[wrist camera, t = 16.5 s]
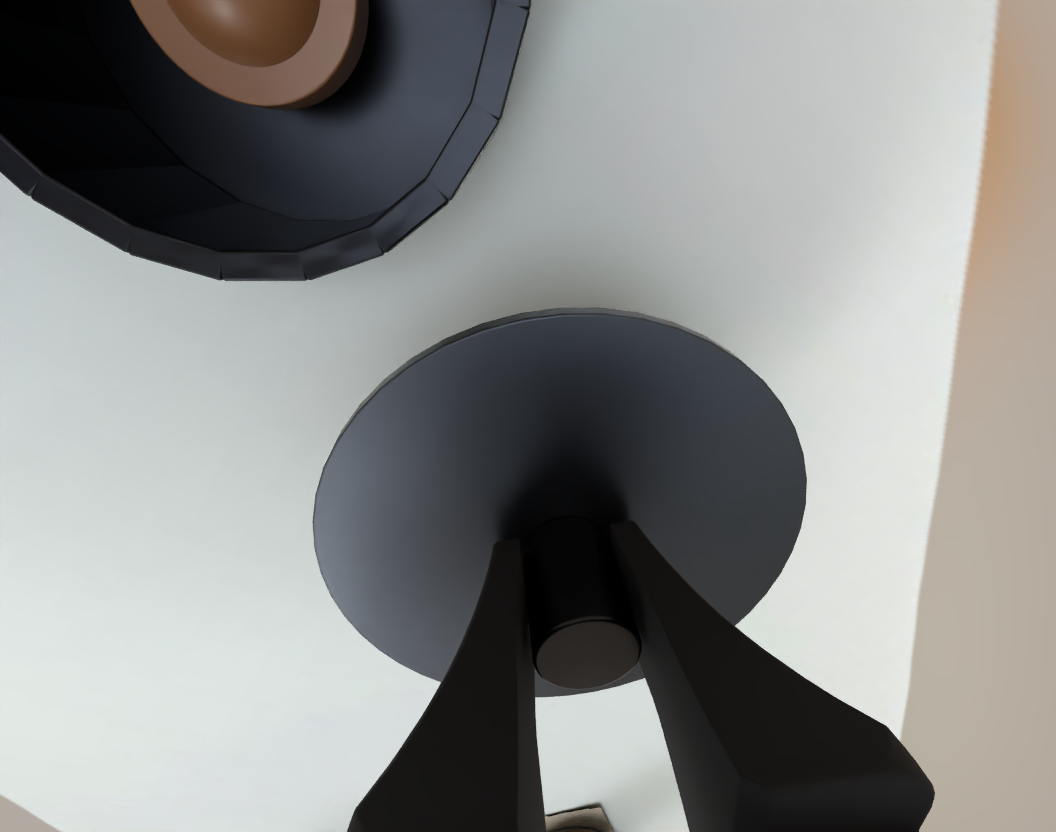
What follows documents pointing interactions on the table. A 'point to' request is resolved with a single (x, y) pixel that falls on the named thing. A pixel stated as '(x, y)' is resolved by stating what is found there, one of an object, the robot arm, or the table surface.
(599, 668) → the lid
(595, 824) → the condiment
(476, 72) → the pan
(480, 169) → the table surface
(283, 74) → the mushroom
